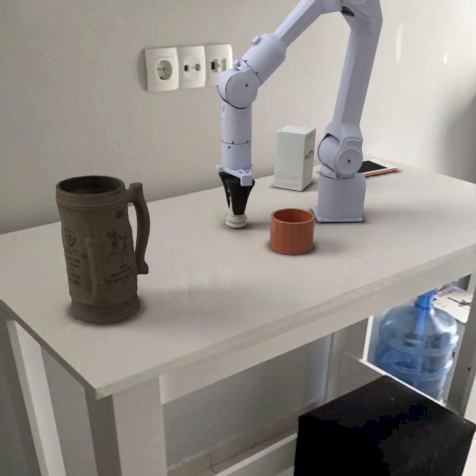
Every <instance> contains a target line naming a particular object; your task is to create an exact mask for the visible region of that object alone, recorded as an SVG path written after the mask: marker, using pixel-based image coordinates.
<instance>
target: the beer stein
mask: <svg viewBox="0 0 476 476" xmlns="http://www.w3.org/2000/svg"><path fill="white" fill-rule="evenodd" d="M55 203H56V206H57V210H58V215H59V218H60V232H61V233H60V234H61V243H62V247H63V254H64V261H65V267H66V268H65V269H66V275H67V284H68V294H69V296H70V298H71V302H70V310H71V313H72V315H73V316H74V318H76V319H77V320H79V321H81V322H84V323H89V324H95V325H109V324H115V323H120V322H123V321H125V320H128V319H130V318H131V317H133V316H135V315H136V314H137V313H138V312H139V310H140V308H141V300H140V298H139V295H138V290H139V287H138V282H139V281H138V276H139V275H148V274H149V273H150V267H149V264H148V263H147V262H146V260H145V257H146V251H147V246H148V243H149V239H150V234H151V216H150V210H149V207H148V203H147V201H146V199H145V195H144V185H143V183H142V182H139V181H138V182H131V183H129V186H128V188H126V184H125V182H124V181H123V180H122V179H120V178H118V177H114V176H110V175H99V174H91V175H90V174H89V175H82V176H81V175H80V176H73V177H68V178H65V179H63V180H60V181H58V182H57V183H56V185H55ZM129 204H132V205H133V207H134V211H135V216H136V237H135V241H134V233H133V227H132V224H131V222H130V217H129ZM134 242H135V243H134Z"/></svg>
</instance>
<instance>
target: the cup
mask: <svg viewBox="0 0 476 476" xmlns="http://www.w3.org/2000/svg"><path fill="white" fill-rule="evenodd" d="M269 225H270V229H269V248H270V250H272V251H274V252H276V253H277V254H283V255H287V256H289V255H290V256H293V255H294V256H295V255H296V256H297V255H303V254H307V253H309V252H310V251H312V249H313V245H314V236H315V225H316V217H315V214H314V212H313V211H312V212H311V211H310V210H308V209H304V208H297V207H285V208H280V209H279V208H278V209H277V210H274V211H272V213H270V223H269Z"/></svg>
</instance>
